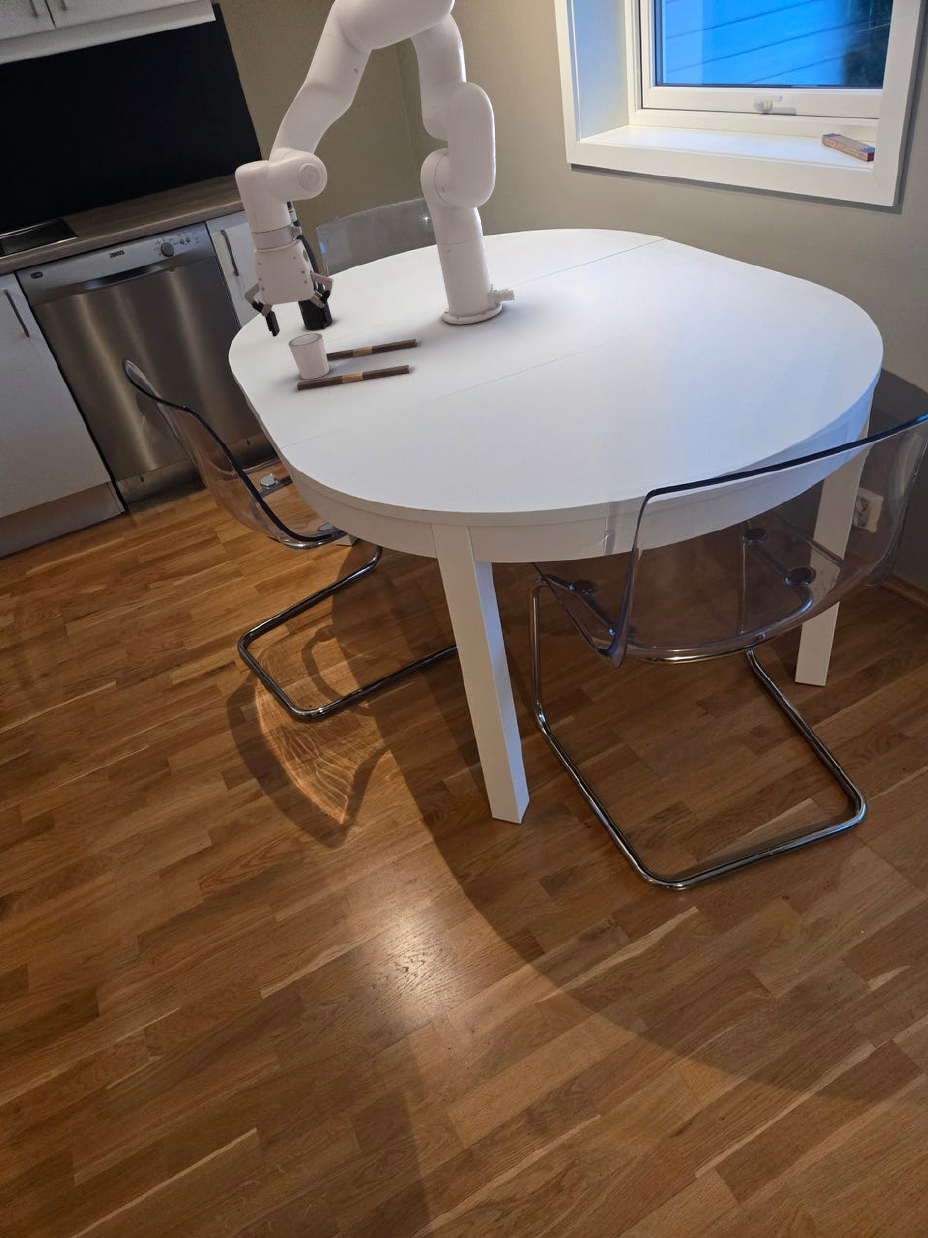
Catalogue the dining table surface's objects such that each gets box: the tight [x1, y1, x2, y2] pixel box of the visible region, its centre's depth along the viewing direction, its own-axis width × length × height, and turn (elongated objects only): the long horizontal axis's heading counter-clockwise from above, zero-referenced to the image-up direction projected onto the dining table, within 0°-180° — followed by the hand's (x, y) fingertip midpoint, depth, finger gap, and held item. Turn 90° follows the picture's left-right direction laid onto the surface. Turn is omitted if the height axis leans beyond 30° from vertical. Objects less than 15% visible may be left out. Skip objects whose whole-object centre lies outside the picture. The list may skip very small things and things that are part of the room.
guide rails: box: [296, 338, 417, 391], centre depth 173 cm, size 22×15×1 cm
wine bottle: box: [286, 201, 334, 331], centre depth 190 cm, size 6×6×30 cm
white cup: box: [287, 332, 330, 380], centre depth 172 cm, size 7×7×7 cm
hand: (300, 330), depth 169 cm, fingers open, 9 cm apart
